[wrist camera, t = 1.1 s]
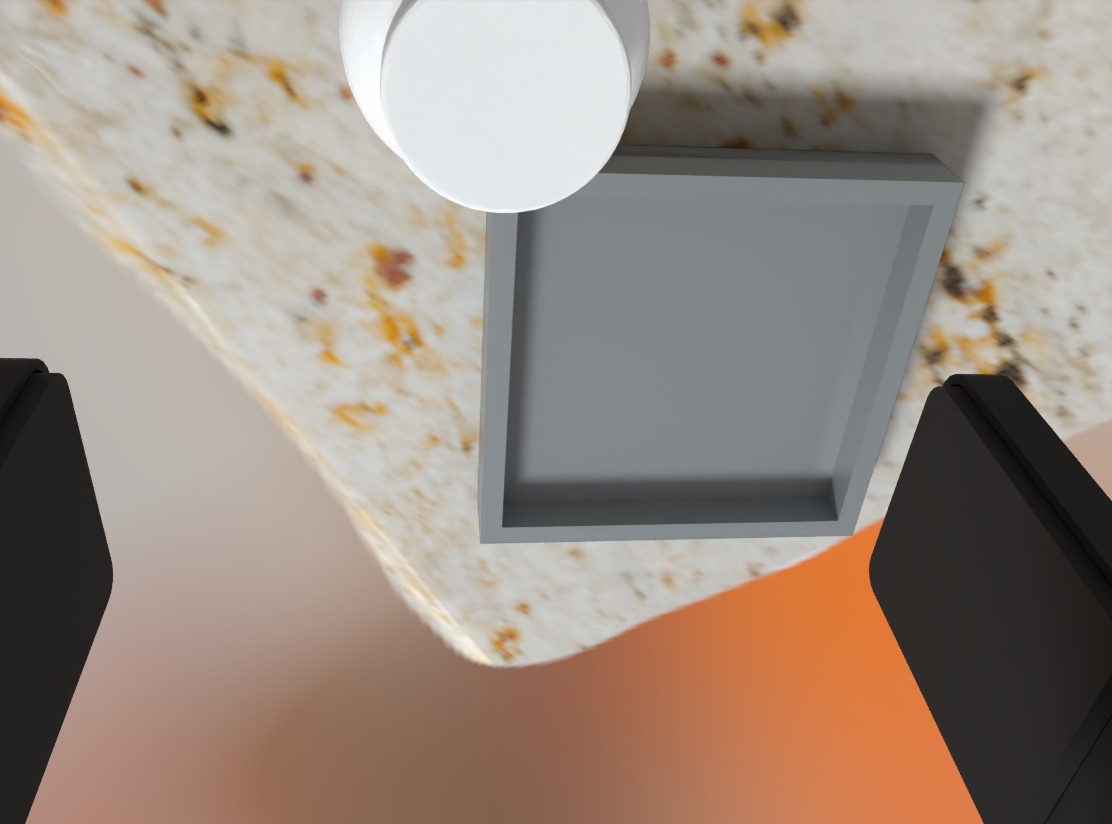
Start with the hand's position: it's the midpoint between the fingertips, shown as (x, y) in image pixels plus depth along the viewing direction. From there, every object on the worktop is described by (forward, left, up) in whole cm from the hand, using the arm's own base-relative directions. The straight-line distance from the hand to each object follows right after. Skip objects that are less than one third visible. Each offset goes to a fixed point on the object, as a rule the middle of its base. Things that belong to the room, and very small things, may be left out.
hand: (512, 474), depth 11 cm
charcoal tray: (-9, +12, -22) cm, 27 cm away
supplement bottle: (-1, -1, -23) cm, 23 cm away
